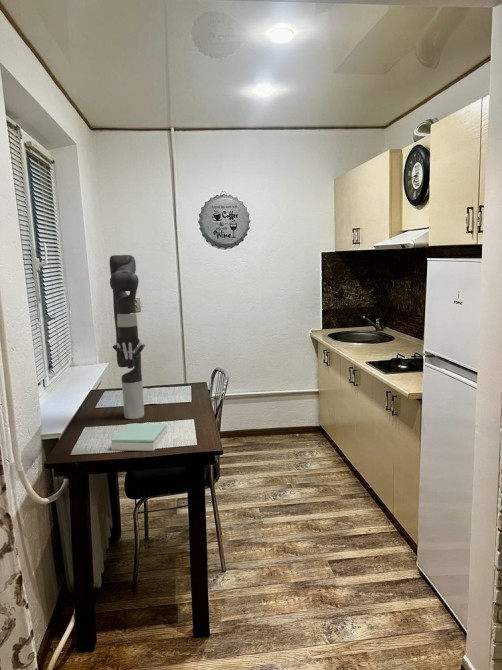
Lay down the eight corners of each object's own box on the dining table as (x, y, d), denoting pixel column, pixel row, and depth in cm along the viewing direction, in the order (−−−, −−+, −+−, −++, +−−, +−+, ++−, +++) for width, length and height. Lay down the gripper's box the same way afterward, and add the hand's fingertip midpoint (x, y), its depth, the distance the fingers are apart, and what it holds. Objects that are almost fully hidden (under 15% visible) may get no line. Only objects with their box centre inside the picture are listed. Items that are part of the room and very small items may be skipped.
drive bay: (128, 432, 208) (128, 425, 208) (167, 432, 206) (167, 426, 206) (111, 450, 190) (111, 442, 189) (153, 450, 188) (153, 443, 187)
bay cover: (127, 425, 207) (127, 423, 207) (166, 425, 205) (166, 424, 205) (111, 441, 190) (111, 439, 189) (153, 442, 188) (153, 440, 187)
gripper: (147, 323, 192) (149, 365, 194) (114, 323, 193) (118, 365, 196) (140, 325, 184) (143, 370, 187) (107, 326, 186) (110, 370, 189)
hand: (130, 368), depth 191 cm, fingers closed
